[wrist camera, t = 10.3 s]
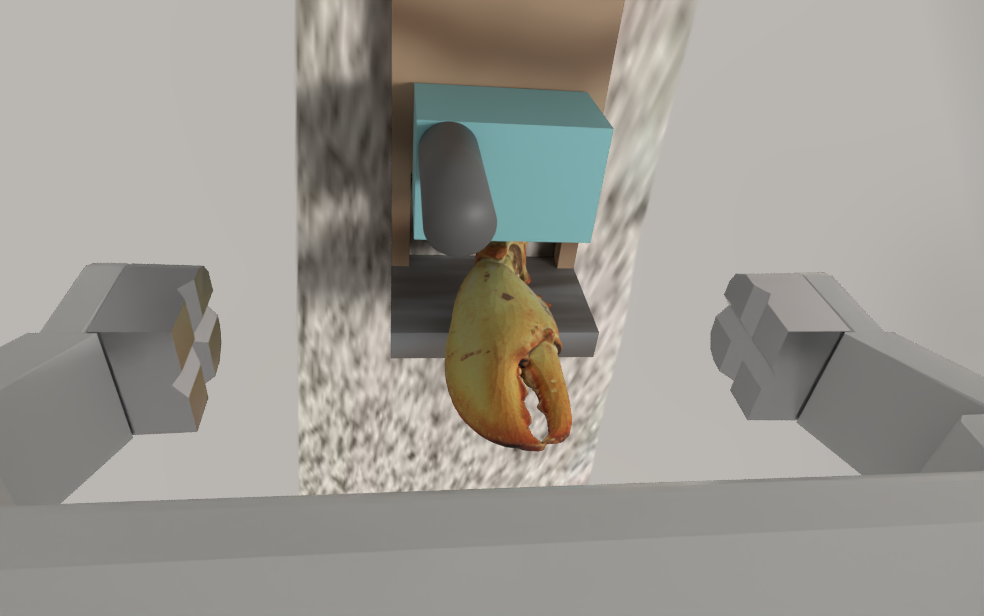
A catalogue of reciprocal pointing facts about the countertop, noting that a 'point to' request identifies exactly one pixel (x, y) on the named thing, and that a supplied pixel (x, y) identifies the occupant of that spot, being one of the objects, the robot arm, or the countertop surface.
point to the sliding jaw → (505, 165)
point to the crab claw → (505, 352)
